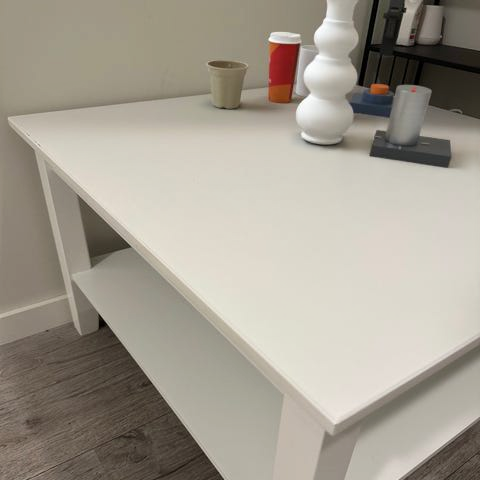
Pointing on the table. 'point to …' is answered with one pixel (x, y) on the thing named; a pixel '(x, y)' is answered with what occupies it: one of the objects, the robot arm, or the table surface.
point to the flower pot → (226, 82)
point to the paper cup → (282, 65)
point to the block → (372, 103)
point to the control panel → (413, 150)
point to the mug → (305, 59)
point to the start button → (379, 89)
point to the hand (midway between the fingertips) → (387, 50)
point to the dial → (407, 114)
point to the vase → (330, 77)
